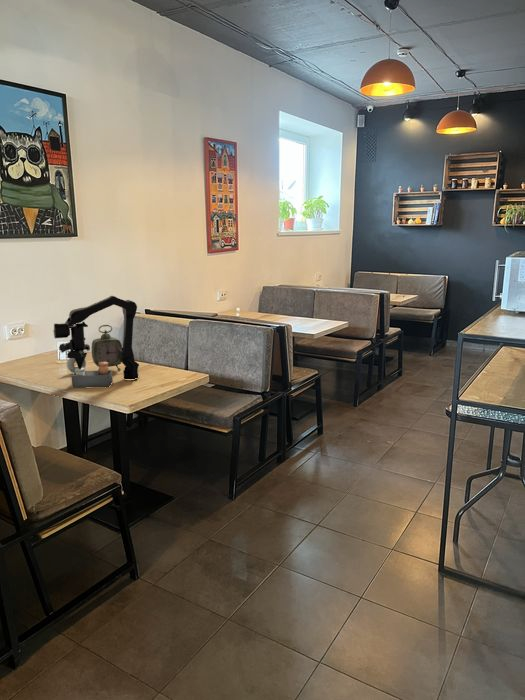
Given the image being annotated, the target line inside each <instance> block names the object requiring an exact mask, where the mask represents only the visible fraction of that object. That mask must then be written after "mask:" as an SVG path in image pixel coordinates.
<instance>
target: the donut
mask: <svg viewBox="0 0 525 700" xmlns="http://www.w3.org/2000/svg"><path fill="white" fill-rule="evenodd" d="M75 363H76V360H75V359H74V358H68V361H67V365H66V367H67V369H68V370H69V371H70V372H71V373H73V374H74V373H75V372H76V371H75V369H76V368H78V366H76V365H75ZM86 363H87V361H86V359H85V360H84V363H83V366H82V368H85V369H86V365H87V364H86Z"/></svg>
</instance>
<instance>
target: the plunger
mask: <svg viewBox="0 0 525 700" xmlns="http://www.w3.org/2000/svg"><path fill="white" fill-rule="evenodd" d="M75 371H76V375H85V371H86V367H85V368H81V369H79V368H76V369H75Z"/></svg>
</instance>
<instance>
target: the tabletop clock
mask: <svg viewBox="0 0 525 700" xmlns="http://www.w3.org/2000/svg"><path fill="white" fill-rule="evenodd" d="M102 327H109V328H110V330H108V331H107V330H106V329H105V330H104V331H101V328H102ZM112 331H113V327H112V326H111V325H109V324H103V325H100V326H99V327H98V332H100V333H101V335H100V338H95V339H93V340H92V342H91V358H92V361H93V364H95V366H96V367H98V368H99V362H108V368H109V367H116V369H117V372H120V371H121V369H122V368H120V367H119V365H121V364H122V362H121V361H120V358H118V356H119V350H122V348H123V344H122V342H121V340H120V339H118V338H117V337H112V336H111V335H110V332H112ZM97 371H99V369H98V370H97Z"/></svg>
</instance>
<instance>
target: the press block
mask: <svg viewBox="0 0 525 700" xmlns="http://www.w3.org/2000/svg"><path fill="white" fill-rule="evenodd" d="M113 379H114V378H113V370H112V369H111V370H109V369H108V374H100V372H99V371H98V370H85V375H76V372H75V373H73V374H72V375H71V388H72V389H87V388H86V387H106V388H110V387H111V386H112V384H113V383H112V382H113V381H114V380H113ZM111 383H112V384H111ZM110 385H111V386H110ZM109 386H110V387H109Z"/></svg>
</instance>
